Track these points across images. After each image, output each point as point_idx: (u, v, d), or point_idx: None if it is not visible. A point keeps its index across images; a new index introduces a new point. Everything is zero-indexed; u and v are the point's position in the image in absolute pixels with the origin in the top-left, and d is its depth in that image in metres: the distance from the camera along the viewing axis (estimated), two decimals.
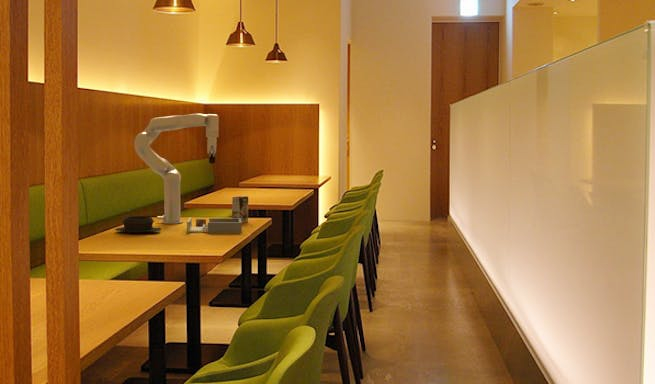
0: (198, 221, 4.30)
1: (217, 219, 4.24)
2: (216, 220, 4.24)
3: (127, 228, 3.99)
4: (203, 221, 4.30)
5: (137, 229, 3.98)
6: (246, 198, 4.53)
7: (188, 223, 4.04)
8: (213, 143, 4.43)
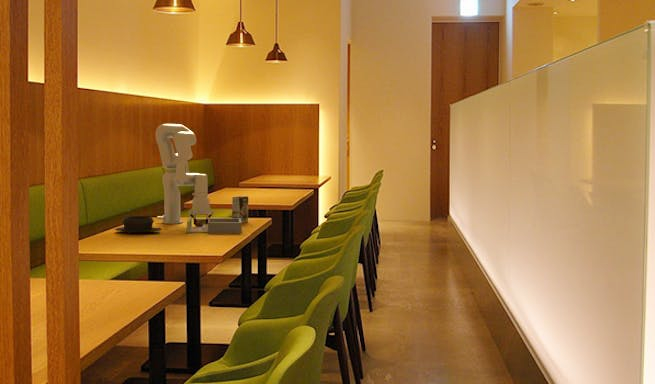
0: (198, 221, 4.30)
1: (217, 219, 4.24)
2: (216, 220, 4.24)
3: (127, 228, 3.99)
4: (203, 221, 4.30)
5: (137, 229, 3.98)
6: (246, 198, 4.53)
7: (188, 223, 4.04)
8: None
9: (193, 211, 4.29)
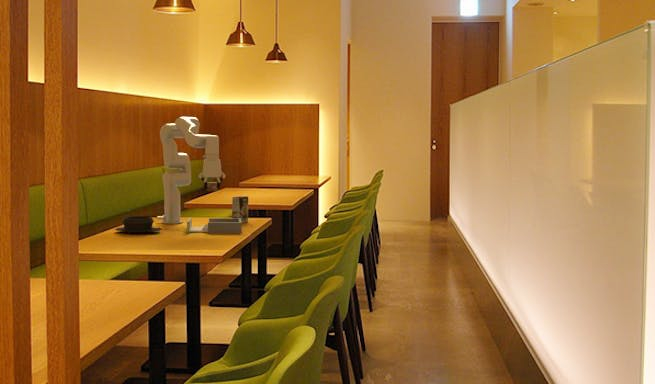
0: (209, 184, 4.11)
1: (217, 219, 4.24)
2: (216, 220, 4.24)
3: (127, 228, 3.99)
4: (214, 184, 4.12)
5: (137, 229, 3.98)
6: (246, 198, 4.53)
7: (188, 223, 4.04)
8: None
9: (204, 174, 4.10)
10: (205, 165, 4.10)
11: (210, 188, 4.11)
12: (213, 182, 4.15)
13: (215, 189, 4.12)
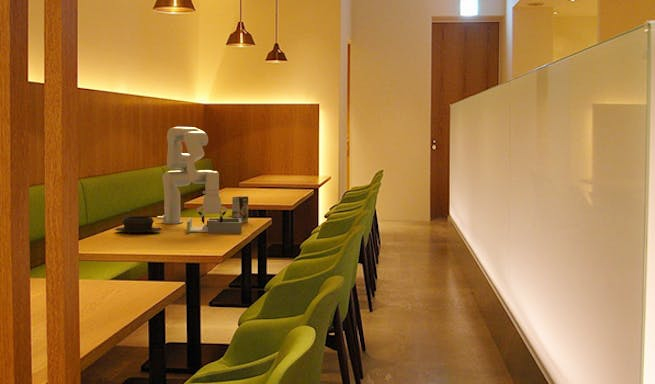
0: None
1: (217, 219, 4.24)
2: None
3: (127, 228, 3.99)
4: None
5: (137, 229, 3.98)
6: (246, 198, 4.53)
7: (188, 223, 4.04)
8: None
9: (204, 210, 4.12)
10: (205, 201, 4.11)
11: None
12: (213, 220, 4.17)
13: None
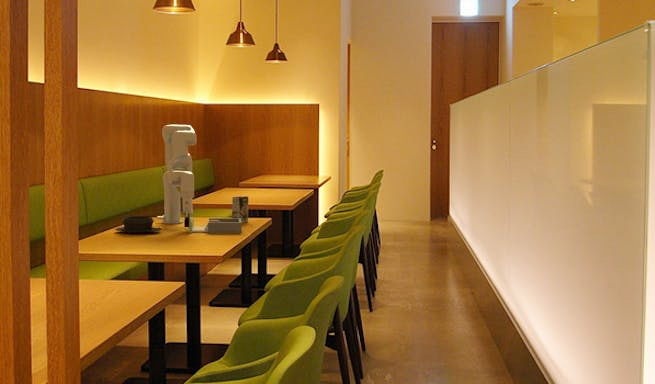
0: None
1: (217, 219, 4.24)
2: None
3: (127, 228, 3.99)
4: None
5: (137, 229, 3.98)
6: (246, 198, 4.53)
7: (190, 223, 4.04)
8: None
9: (191, 212, 4.09)
10: (191, 203, 4.10)
11: None
12: (215, 220, 4.17)
13: None
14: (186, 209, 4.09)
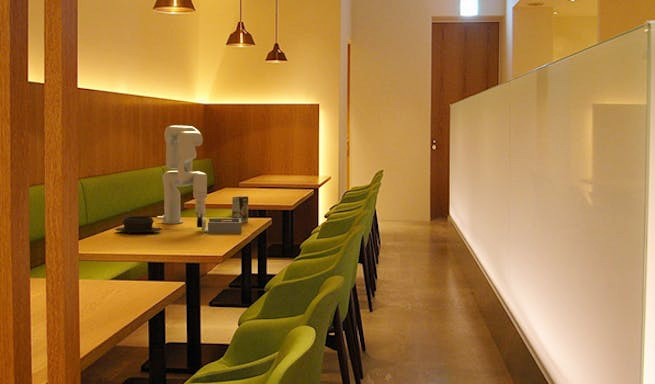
0: None
1: (217, 219, 4.24)
2: (216, 220, 4.24)
3: (127, 228, 3.99)
4: None
5: (137, 229, 3.98)
6: (246, 198, 4.53)
7: (203, 223, 4.05)
8: None
9: (204, 212, 4.10)
10: (204, 203, 4.10)
11: None
12: (228, 220, 4.18)
13: None
14: (199, 209, 4.10)
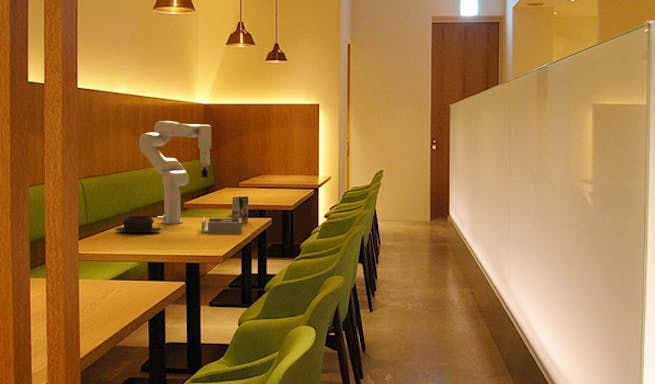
0: None
1: (217, 219, 4.24)
2: (216, 220, 4.24)
3: (127, 228, 3.99)
4: None
5: (137, 229, 3.98)
6: (246, 198, 4.53)
7: (203, 223, 4.05)
8: None
9: (209, 162, 4.29)
10: (209, 153, 4.29)
11: None
12: (227, 220, 4.18)
13: None
14: (204, 159, 4.28)
